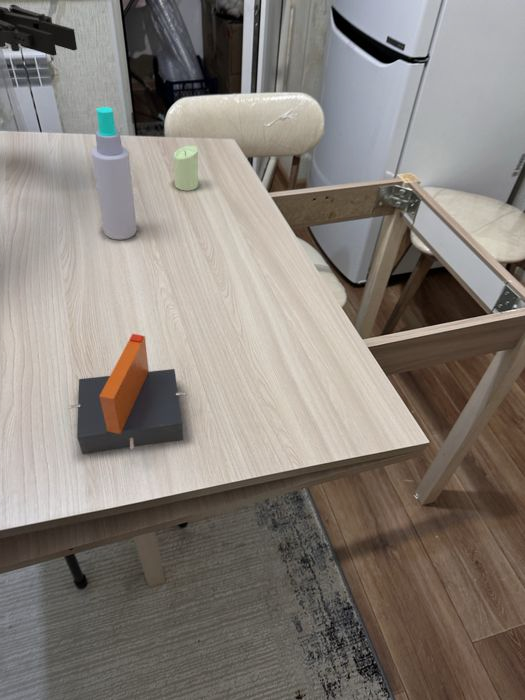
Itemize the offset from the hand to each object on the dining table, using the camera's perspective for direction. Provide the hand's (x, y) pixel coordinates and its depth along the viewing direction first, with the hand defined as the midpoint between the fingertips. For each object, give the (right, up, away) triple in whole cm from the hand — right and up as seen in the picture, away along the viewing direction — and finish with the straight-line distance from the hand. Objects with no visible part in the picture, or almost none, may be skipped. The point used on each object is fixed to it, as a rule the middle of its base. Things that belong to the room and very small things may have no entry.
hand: (63, 42), depth 72 cm
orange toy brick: (+13, -52, -13) cm, 55 cm away
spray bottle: (+3, -24, +19) cm, 31 cm away
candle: (+13, -10, +35) cm, 38 cm away
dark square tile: (+13, -55, -10) cm, 57 cm away
